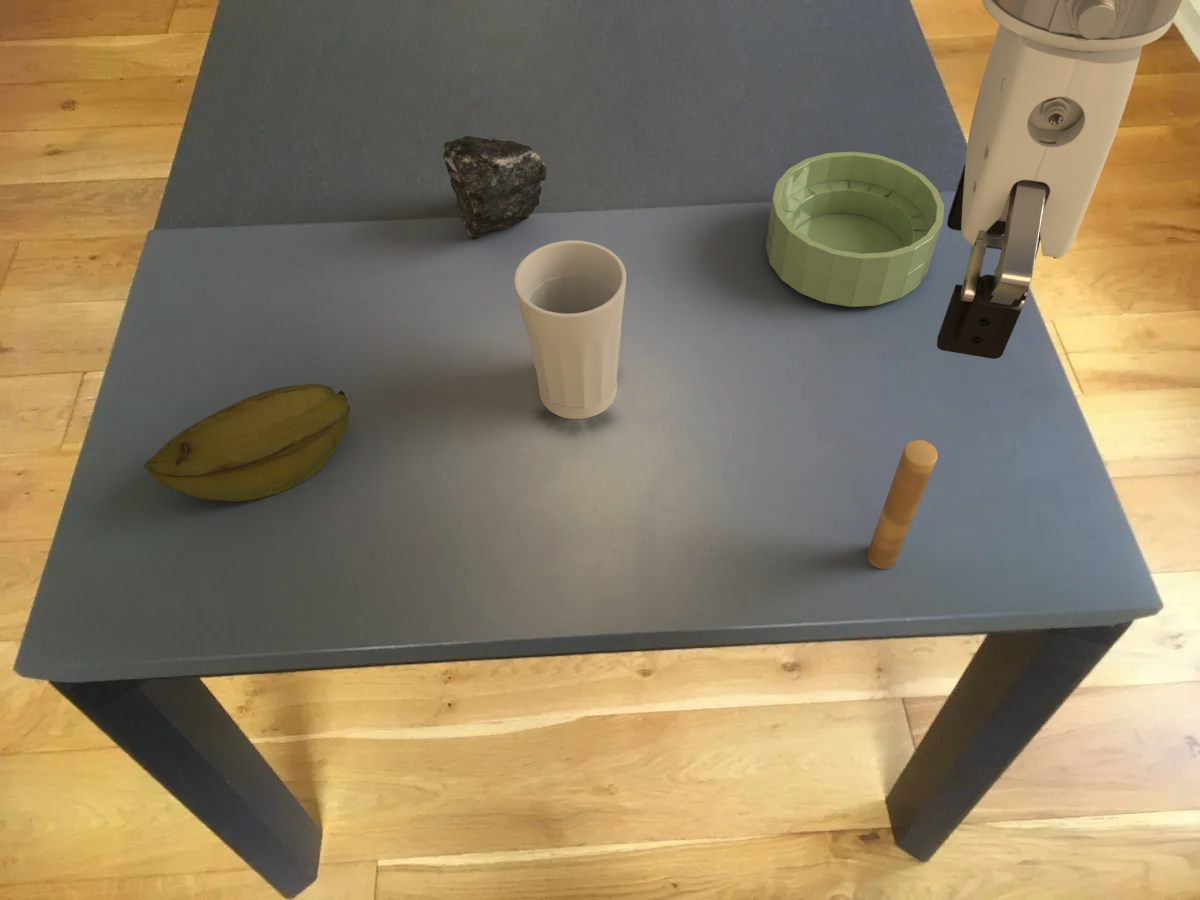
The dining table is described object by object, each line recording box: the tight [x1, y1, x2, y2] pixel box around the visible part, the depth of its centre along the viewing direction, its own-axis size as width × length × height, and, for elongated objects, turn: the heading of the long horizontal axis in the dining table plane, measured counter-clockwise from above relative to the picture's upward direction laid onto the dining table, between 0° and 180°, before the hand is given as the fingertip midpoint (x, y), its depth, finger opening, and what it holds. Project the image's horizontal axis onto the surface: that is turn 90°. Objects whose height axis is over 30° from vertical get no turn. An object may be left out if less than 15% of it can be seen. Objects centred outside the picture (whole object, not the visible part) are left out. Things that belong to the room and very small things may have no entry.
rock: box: [442, 135, 547, 241], centre depth 87 cm, size 8×7×10 cm
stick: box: [866, 439, 939, 570], centre depth 63 cm, size 2×2×12 cm
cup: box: [513, 239, 627, 420], centre depth 74 cm, size 8×8×12 cm
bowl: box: [765, 151, 945, 308], centre depth 85 cm, size 14×14×6 cm
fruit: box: [143, 383, 350, 503], centre depth 72 cm, size 11×12×7 cm
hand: (971, 286), depth 52 cm, fingers open, 9 cm apart
